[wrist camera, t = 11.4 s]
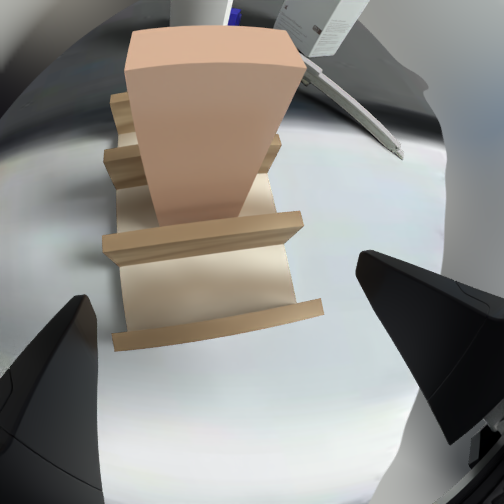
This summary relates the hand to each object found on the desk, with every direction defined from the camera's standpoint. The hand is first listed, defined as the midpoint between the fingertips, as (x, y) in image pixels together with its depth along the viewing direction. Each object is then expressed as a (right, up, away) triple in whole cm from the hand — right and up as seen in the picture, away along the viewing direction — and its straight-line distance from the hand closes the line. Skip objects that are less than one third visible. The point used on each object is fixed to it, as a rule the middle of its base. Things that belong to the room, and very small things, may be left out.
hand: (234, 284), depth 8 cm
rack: (-4, +4, +13) cm, 14 cm away
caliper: (+9, +17, +20) cm, 28 cm away
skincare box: (+8, +31, +23) cm, 39 cm away
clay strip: (-4, +4, +12) cm, 13 cm away
